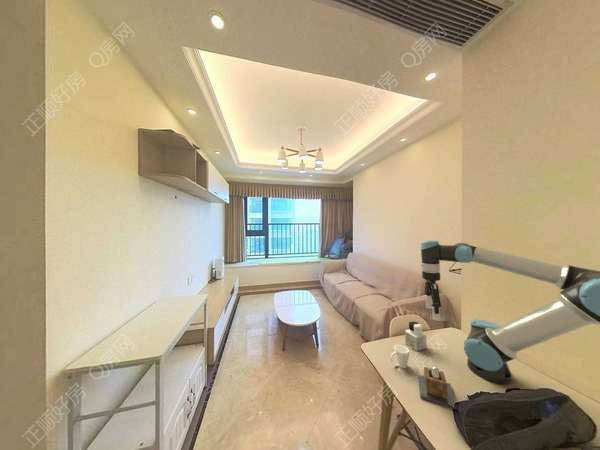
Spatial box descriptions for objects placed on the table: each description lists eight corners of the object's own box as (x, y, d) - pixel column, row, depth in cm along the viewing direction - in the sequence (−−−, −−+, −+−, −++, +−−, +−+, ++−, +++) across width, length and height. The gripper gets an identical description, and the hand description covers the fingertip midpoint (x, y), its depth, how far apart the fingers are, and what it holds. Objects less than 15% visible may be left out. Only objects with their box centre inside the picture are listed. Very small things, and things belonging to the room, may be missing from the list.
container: (405, 343, 114) (404, 321, 114) (415, 340, 116) (414, 319, 116) (416, 351, 106) (415, 327, 106) (427, 348, 109) (426, 325, 109)
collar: (443, 385, 82) (443, 371, 82) (447, 399, 76) (447, 384, 76) (424, 380, 85) (424, 366, 85) (426, 392, 79) (426, 378, 79)
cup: (413, 368, 94) (412, 351, 94) (396, 372, 91) (395, 355, 91) (402, 358, 101) (402, 343, 101) (386, 362, 98) (385, 346, 98)
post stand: (450, 386, 83) (449, 362, 83) (457, 410, 72) (457, 382, 72) (417, 377, 88) (417, 354, 88) (420, 398, 78) (419, 372, 78)
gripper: (417, 266, 109) (419, 303, 109) (427, 277, 86) (430, 324, 86) (433, 266, 107) (434, 304, 106) (448, 278, 83) (450, 327, 83)
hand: (432, 313), depth 96 cm, fingers open, 13 cm apart
